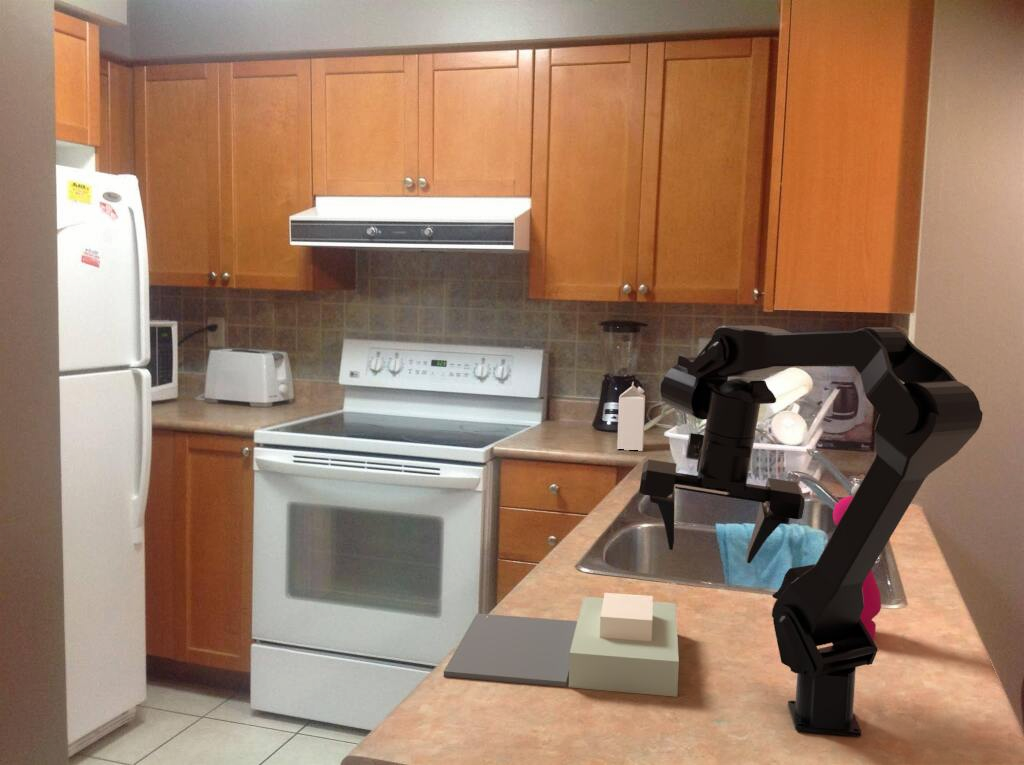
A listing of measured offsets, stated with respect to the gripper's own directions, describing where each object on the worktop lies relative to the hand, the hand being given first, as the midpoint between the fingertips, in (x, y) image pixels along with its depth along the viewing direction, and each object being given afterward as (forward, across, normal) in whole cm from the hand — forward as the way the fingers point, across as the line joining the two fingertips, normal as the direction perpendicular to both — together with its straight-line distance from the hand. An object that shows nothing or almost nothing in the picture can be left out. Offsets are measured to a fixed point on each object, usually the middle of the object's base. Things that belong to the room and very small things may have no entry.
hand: (709, 555), depth 114 cm
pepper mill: (+13, -21, -12) cm, 27 cm away
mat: (+15, +21, +4) cm, 26 cm away
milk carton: (+34, +14, -152) cm, 156 cm away
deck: (+14, +8, +4) cm, 16 cm away
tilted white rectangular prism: (+8, +9, +3) cm, 12 cm away
